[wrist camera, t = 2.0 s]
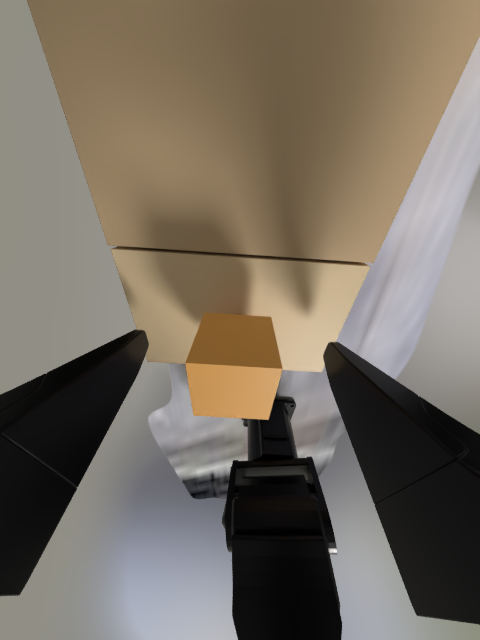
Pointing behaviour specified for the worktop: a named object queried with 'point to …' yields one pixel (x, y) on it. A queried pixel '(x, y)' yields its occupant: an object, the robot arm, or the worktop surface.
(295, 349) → the pull drawer
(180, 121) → the carton
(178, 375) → the worktop surface
